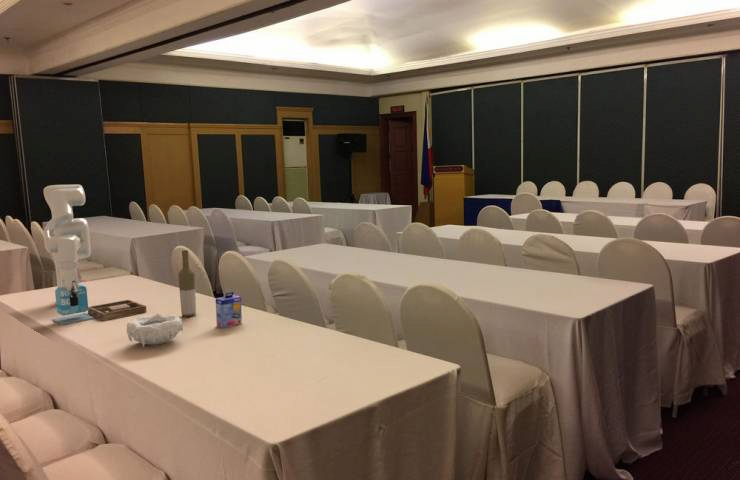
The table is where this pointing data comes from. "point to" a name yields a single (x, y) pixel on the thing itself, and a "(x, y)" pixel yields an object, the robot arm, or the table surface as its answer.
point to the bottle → (187, 287)
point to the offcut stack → (118, 308)
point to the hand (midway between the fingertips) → (72, 304)
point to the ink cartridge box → (228, 310)
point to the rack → (100, 311)
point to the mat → (73, 319)
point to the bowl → (154, 328)
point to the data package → (64, 301)
